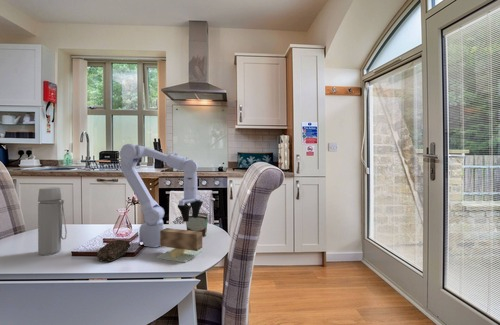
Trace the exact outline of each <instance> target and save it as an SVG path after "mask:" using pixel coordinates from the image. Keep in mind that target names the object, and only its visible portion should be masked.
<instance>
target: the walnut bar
mask: <svg viewBox="0 0 500 325" xmlns="http://www.w3.org/2000/svg"><path fill="white" fill-rule="evenodd" d="M159 247H162V248H163V247H164V248H172V249H173V248H177V249H184V250H192V251H198V250H202V249H203V236H202V232H198V231H189V230H187V229H178V228H168V227H166V228H163V230H161V231H160V246H159Z"/></svg>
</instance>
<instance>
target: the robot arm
mask: <svg viewBox="0 0 500 325" xmlns="http://www.w3.org/2000/svg"><path fill="white" fill-rule="evenodd" d="M118 155H119V158H120V171H121V172H122V175H124V178H125V179H126V181H127V182H128V185H129V186H130V188H131V189H132V192H133V193H134V195H135V197H136V198H137V200H138V202H139V204H140V205H141V212H142V214H143V220H144V222H143V223H142V224H140V227H139V231H138V232H139V233H138V234H139V235H138V236H139V237H138V240H139V241H138V242H143V243H145V244H144V246H145V247H150V248H158V247H161V246H160V231H161V230H163V229H164V220H163V218H164V217H165V213H166V212H165V209H164V207H162V206H160V205H159V203H158V202H157V201H156V200H155V199H154V198H153V197H152V195H151V194H150V191H149V189H148V188H147V186H146V184H145V183H144V180H143V179H142V177H141V176H140V174H139V171H137V169H136V167H137V165H138V162H139V161H140V160H141V159H142V157H143V158H146V157H149V158H152V159H155V160H159V161H161V162H165V163H166V166H168V167H170V168H172V169H175V170H178V171H183V198H182V199H180V200H178V204H177V208H178V210H179V212H180V215H181V217H182V221H183V222H184V223H186V222H188V221H189V213H192V215H193V218H198V215H199V213H200V212H201V211H200V209H201V207H202V205H203V204H204V203H203V202H204V201H202V196H201V195H198V172H197V171H198V169H199V165H198V163H197V161H195V160H193V159H189V157H184V156H180V155H179V154H178V153H176V152H175V153H171V154H166V153H164V152H161V151H158V150H156V149H155V148H154V149H153V148H151V147H147V146H143V145H139V144H132V143H125V144H124V145H122V147H121V148H120V151H119V153H118ZM191 211H192V212H191ZM144 246H143V247H144Z"/></svg>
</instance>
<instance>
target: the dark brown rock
mask: <svg viewBox="0 0 500 325" xmlns="http://www.w3.org/2000/svg"><path fill="white" fill-rule="evenodd" d="M130 247H131V244H130V242H129V241H128V240H121V239H116V240H115V241H113V242H111V241H110V242H107V243H106V244H105V245H104V246H102V247H100V248H99V249H98V251H97V252H96V255H97V261H99V262H106V263H109V262H113V261H115V260H117V259H118V258H121V257H123V256H125V254H126V253H127V251H128V250H129V248H130Z"/></svg>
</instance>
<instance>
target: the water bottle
mask: <svg viewBox="0 0 500 325" xmlns="http://www.w3.org/2000/svg"><path fill="white" fill-rule="evenodd" d="M37 202H38V204H37V230H38V232H37V234H38V235H37V241H38V242H37V245H38V246H37V247H38V248H37V250H38V251H37V253H38V254H39V255H41V256H51V255H56V254H57V253H59V252H60V251H61V250H62V240H66V239H67V233H68V232H67V225H66V217H65V209H64V202H65V200H64V199H62V192H61V187H59V186H58V187H52V186H51V187H41V188H39V189H38V197H37ZM63 223H64V224H63ZM63 225H64V230H65V231H64V232H65V235H64V238H63Z"/></svg>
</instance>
